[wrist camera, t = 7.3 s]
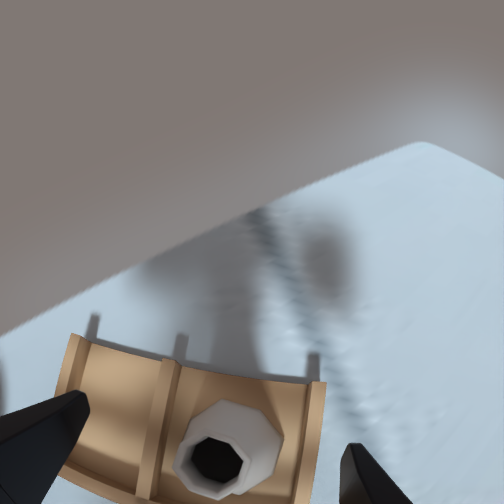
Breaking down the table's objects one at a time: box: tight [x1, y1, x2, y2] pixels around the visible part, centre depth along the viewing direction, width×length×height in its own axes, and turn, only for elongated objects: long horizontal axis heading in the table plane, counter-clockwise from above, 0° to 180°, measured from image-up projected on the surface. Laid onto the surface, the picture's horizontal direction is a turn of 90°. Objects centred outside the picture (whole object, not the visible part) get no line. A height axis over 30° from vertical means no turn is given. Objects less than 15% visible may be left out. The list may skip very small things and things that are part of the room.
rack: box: [54, 333, 327, 504], centre depth 18 cm, size 12×20×3 cm, turn 81°
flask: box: [172, 399, 285, 500], centre depth 15 cm, size 7×7×10 cm
